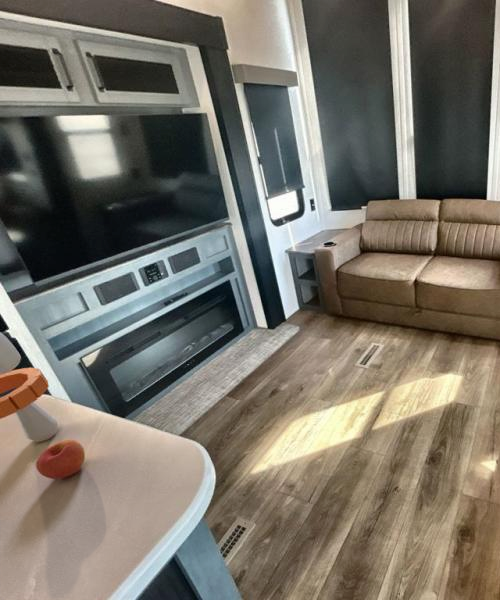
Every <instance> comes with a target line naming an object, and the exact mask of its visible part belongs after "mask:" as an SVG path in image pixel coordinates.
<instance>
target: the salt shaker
mask: <svg viewBox="0 0 500 600" xmlns="http://www.w3.org/2000/svg"><path fill="white" fill-rule="evenodd" d="M15 414H16V417H17V419H18V421H19V424H20V426H21V429H22V432H23V433H24V436H25V438H26V439H27V440H30V441H34V442H36V443H41V442H44V441H48V440H49V439H51V438H52V437H53V436H55V435H56V434H57V433H58V428H59V426H58V421H57V419H56V418H55V417H53V416H52V415H51V414H50V413H48V412H47V411H46V410H44V409H43V408H42V407H40V406H39V405H38V404H37V403H35V401H34V402H33V403H31V404H29V405H28V406H26V407H25V408H23V409H22V410H20V409H18V412H16V413H15Z"/></svg>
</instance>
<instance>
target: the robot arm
mask: <svg viewBox="0 0 500 600" xmlns="http://www.w3.org/2000/svg"><path fill="white" fill-rule="evenodd" d="M21 361H22V356H21V354H20V353H19V351H18V350H17V348H16V347H15V346H14V344H13V343H12V342H11V341H10V340H9V338H8V337H7V336H6V335H4V334H3V332H1V331H0V375H1V374H5V373H9V372H10V371H13V370H15V368H16V367H17V366H19V364H20V363H21Z"/></svg>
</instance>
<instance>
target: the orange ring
mask: <svg viewBox="0 0 500 600" xmlns="http://www.w3.org/2000/svg"><path fill="white" fill-rule="evenodd" d="M49 387H50V386H49V381H48V379H47V378H46V376H45V375H44V373H43V372H42V371H41V369H39V368H36V367H22V368H18V369H13V370H11V371H10V372H9V373H5V374H0V395H1V394H3V393H7V392H9V391H11V390H12V391H11V392H9V393H7V394H6V395H3V396H0V420H2V419H5V418H7V417H8V416H11V415H13V414H16V412H18V409H20V410H22V409H23V408H25V407H26V406H28V405H29V404H31V403H33V402H34V403H35V402H36V401H37V400H38V398H41V397H42V396H43V395H44V394H45V392H46V391H47V390H48V389H49Z"/></svg>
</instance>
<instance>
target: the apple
mask: <svg viewBox="0 0 500 600" xmlns="http://www.w3.org/2000/svg"><path fill="white" fill-rule="evenodd" d="M85 458H86V453H85V448H84V446H83V445H82V444H81V443H80V442H79V441H77V440H75V439H63V440H60V441H57V442H55V443H54V444H52V445H50V446H48V447H47V448H46V449H45V450H43V451H42V452H41V453H40V455H38V457H37V460H36V462H35V467H36V471H37V472H38V473H39V474H40V475H41V476H43V477H44V478H47V479H52V480H61V479H65V478H68V477H69V476H72V475H73V474H76V473H78V472H79V471H80V470H81V469H82V467H83V464H84V462H85Z"/></svg>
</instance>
